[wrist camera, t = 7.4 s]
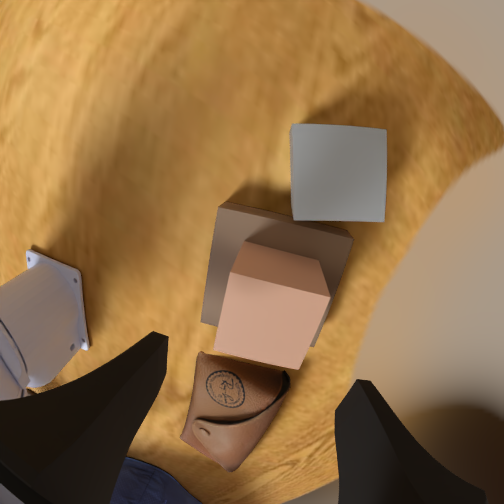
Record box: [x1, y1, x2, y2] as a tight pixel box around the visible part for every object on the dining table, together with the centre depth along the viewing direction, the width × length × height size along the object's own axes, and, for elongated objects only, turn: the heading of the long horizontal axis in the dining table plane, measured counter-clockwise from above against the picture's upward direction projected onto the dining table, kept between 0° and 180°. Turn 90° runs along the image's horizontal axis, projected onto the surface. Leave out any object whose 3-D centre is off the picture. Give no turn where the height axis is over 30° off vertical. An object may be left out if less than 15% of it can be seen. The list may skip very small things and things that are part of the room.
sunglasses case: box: [180, 351, 290, 472], centre depth 24 cm, size 18×7×7 cm, turn 165°
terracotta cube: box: [213, 241, 331, 370], centre depth 15 cm, size 4×4×4 cm
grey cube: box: [290, 124, 387, 222], centre depth 14 cm, size 4×4×4 cm
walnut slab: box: [201, 202, 354, 347], centre depth 18 cm, size 8×8×2 cm
